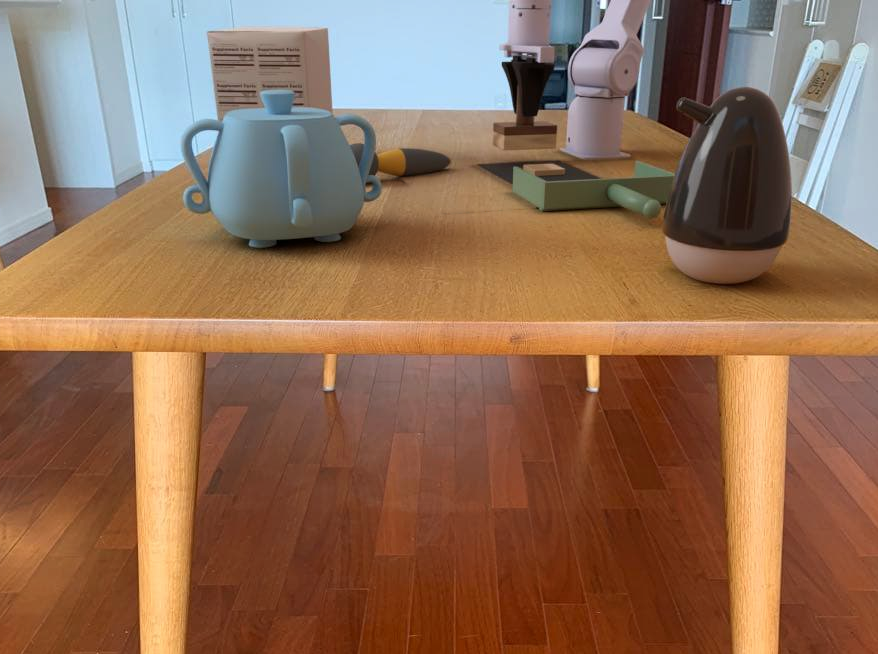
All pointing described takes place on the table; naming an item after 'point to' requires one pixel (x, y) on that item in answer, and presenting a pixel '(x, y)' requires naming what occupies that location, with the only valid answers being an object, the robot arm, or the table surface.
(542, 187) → the dustpan
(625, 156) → the robot arm
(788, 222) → the pump dispenser
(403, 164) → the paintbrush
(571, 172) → the mat
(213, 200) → the decorative pot
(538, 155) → the table surface
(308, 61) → the supplement box
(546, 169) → the flat wooden square tile
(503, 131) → the brush
